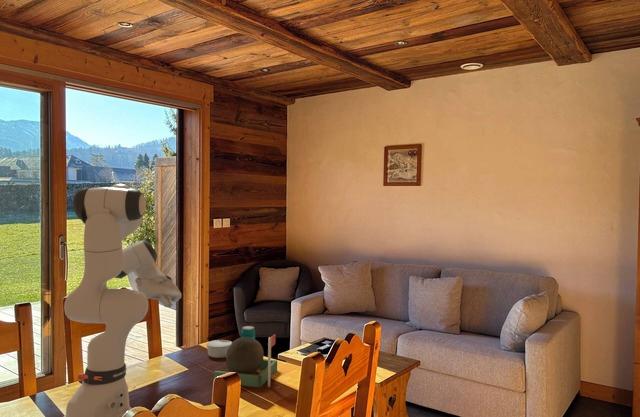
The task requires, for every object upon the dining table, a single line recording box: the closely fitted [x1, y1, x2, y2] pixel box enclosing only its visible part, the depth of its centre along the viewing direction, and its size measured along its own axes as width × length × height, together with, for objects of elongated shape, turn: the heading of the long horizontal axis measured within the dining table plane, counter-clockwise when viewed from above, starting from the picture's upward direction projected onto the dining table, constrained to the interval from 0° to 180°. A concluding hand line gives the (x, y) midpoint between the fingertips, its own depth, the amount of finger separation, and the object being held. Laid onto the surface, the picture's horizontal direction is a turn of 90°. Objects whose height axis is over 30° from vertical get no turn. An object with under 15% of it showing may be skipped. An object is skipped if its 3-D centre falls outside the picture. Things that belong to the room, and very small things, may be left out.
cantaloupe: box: [225, 336, 265, 375], centre depth 194 cm, size 14×14×15 cm
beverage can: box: [240, 325, 256, 340], centre depth 211 cm, size 6×6×15 cm
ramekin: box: [206, 339, 233, 359], centre depth 221 cm, size 11×11×5 cm
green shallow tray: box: [213, 334, 278, 388], centre depth 194 cm, size 19×22×18 cm
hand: (169, 306), depth 194 cm, fingers closed
